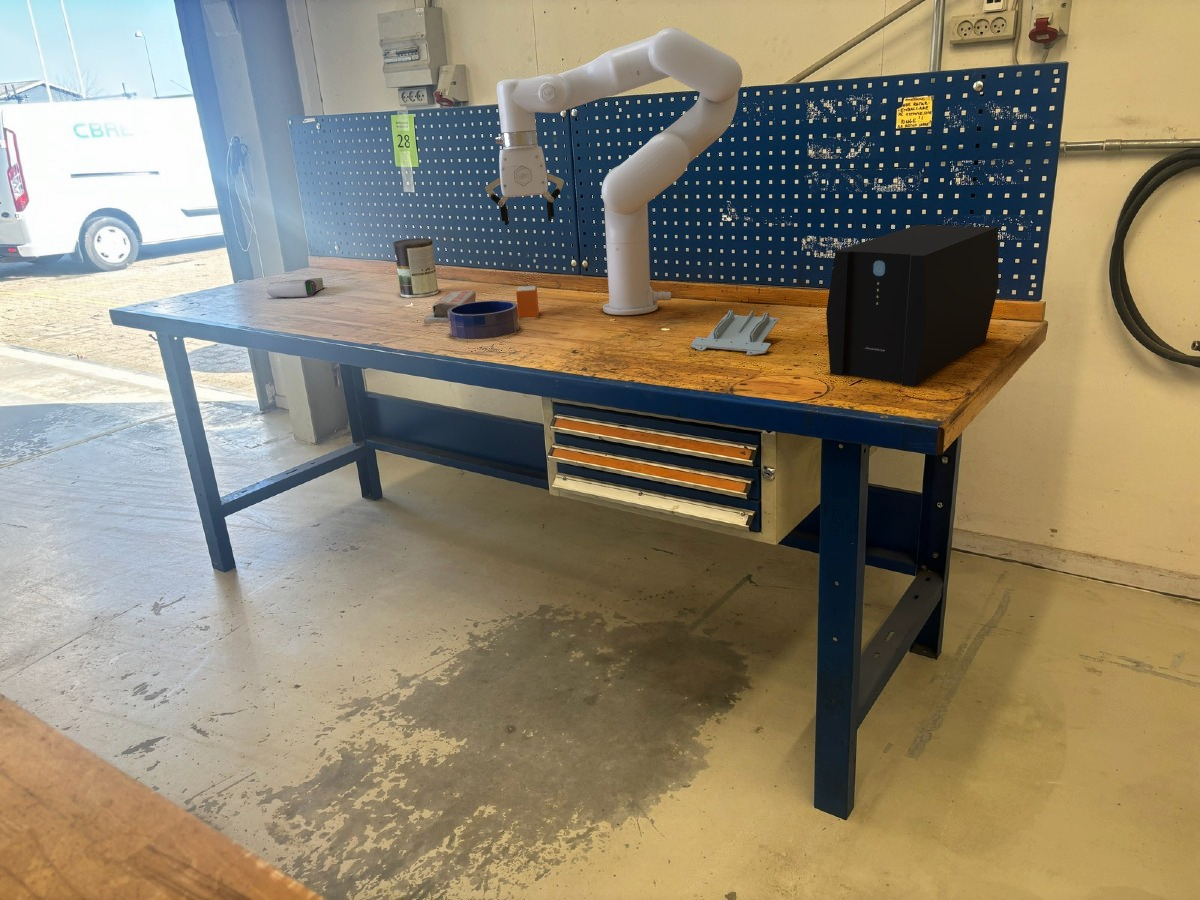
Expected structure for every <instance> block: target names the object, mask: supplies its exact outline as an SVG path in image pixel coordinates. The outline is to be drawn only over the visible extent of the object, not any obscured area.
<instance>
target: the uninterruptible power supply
mask: <svg viewBox="0 0 1200 900" xmlns="http://www.w3.org/2000/svg"><path fill="white" fill-rule="evenodd" d="M999 271H1000V270H999V227H998V226H979V225H977V226H975V225H945V224H944V225H941V224H940V225H939V224H915V225H911V226H909V227H906V228H903V229H899V230H897V231H893V232H890V233H887V234H885V235H881V236H878V237H875V238H872V239H869V240H865V241H863V242H860V243H859V242H858V243H856V244H853V245H850V246H847V247H843V248H841V249H838V250H835V251H834V257H833V263H832V270H831V277H830V282H829V283H830V284H829V291H828V298H827V304H826V309H825V311H826V312H825V316H826V317H825V318H826V334H827V346H828V347H827V348H828V359H829V360H828V361H829V373H830V374H831V375H835V376H853V377H857V378H863V379H864V378H865V379H871V380H877V381H884V382H891V383H897V384H901V385H902V386H907V387H916V386H917V385H919V384H920V383H922V382H923V381H925V380H927V379H928V378H929V377H931V376H933V375H935V374H936V373H937V372H938V371H941V370H942V369H944V368H945V367H946V366H949V365H950V364H951V363H953V362H954V361H956V360H958V359H959V358H960V357H962V356H964V355H966V354H967V353H969V352H970V351H972V350H973V349H974V348H976V347H978V346H979V345H981V344H982V343H985V342H986V340H987V337H988V333H989V328H990V325H991V324H990V323H991V319H992V316H993V311H994V307H995V304H996V299H997V295H998V291H999V286H1000V282H999V279H1000V278H999V275H1000V274H999Z"/></svg>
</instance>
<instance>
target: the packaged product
mask: <svg viewBox="0 0 1200 900" xmlns="http://www.w3.org/2000/svg"><path fill="white" fill-rule="evenodd" d="M476 299H477V293H476V292H475V291H474V290H471V289H463V290H452V291H450V292H448V293H447V294H445V295H444V296H443V297H441V298H440V299H439V300H437V301H435V302H434V303H433V304H432V307H431V309H432V312H431V313H429V314H427V316H425V317H423V322H424V323H423V324H449V319H448V310H449V309H450V308H452V307H454V306H457V305H460V304H465V303H471V302H477V301H476Z"/></svg>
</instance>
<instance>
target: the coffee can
mask: <svg viewBox="0 0 1200 900" xmlns="http://www.w3.org/2000/svg"><path fill="white" fill-rule="evenodd" d="M433 241H434V240H433V239H432V238H427V237H418V238H407V239H400V240H396V241H393V242H392V245H393V250H394V258H395V263H396V270H397V277H398V282H399V283H398V284H399V290H400V297H402V298H410V299H414V298H418V299H419V298H426V297H431V296H434V295H437V294H439V286H438V277H437V270H436V269H437V268H436V262H435V254H434V253H435V252H434V246H433Z"/></svg>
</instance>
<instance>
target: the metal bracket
mask: <svg viewBox="0 0 1200 900" xmlns="http://www.w3.org/2000/svg"><path fill="white" fill-rule="evenodd" d="M779 321H780V318H777V317H770V313H769V312H764V313H763V315H762V316H755V311H754V310H751V311H750V313H749V314H748V315H737V314H735V312H734V310H731V309H730V310H728V312H727V314H724V316H723V317H722V318H721V319H720V321H719V322H718V323H717V325H716V326H715V327H714V328H713V329H712V330H711V332H710V333H709V334H708V336H707V337H703V336H702V337H700V336H696V337H695V338H694V339H693V341H692V342H691V343H690V347H691V348H693V349H696V350H698V351H701V352H703V351H706V349H718V350H728V351H738V352H739V351H740V352H746V355H747V356H756V355H761V354H766V353H767V352H768V351H769V350H770V348H771V346H772V343H770V342H764V341H765V340H766V338H767V337H768V336H769V335H770V333H771V331H772V330H773V328H774V327H775V326H776V325H777V323H778V322H779Z"/></svg>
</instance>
